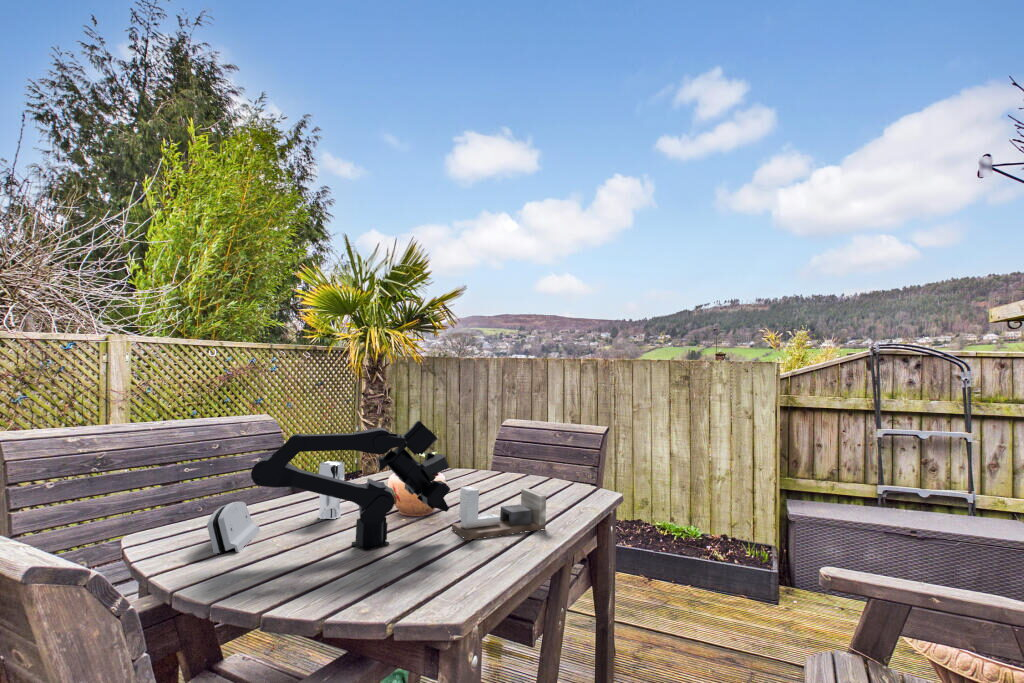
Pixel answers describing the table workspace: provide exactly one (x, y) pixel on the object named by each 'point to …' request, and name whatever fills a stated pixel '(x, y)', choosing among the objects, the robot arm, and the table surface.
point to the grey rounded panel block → (231, 527)
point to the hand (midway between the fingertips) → (447, 509)
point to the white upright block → (327, 503)
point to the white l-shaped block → (473, 510)
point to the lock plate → (512, 518)
